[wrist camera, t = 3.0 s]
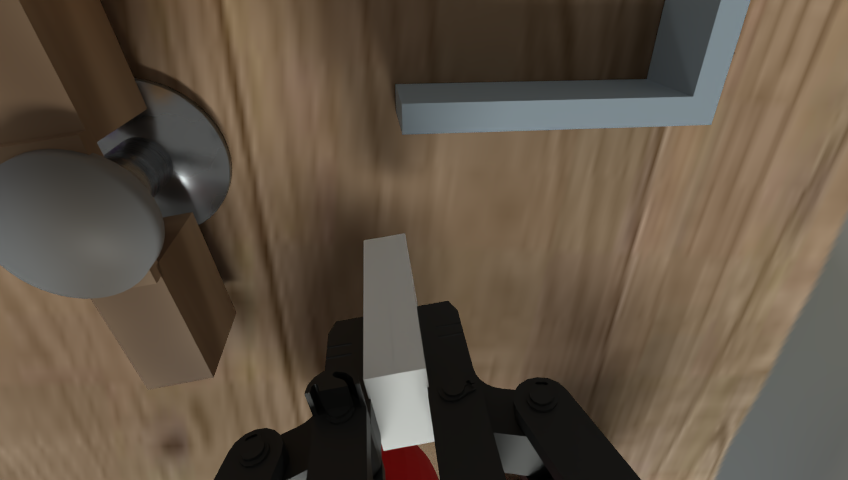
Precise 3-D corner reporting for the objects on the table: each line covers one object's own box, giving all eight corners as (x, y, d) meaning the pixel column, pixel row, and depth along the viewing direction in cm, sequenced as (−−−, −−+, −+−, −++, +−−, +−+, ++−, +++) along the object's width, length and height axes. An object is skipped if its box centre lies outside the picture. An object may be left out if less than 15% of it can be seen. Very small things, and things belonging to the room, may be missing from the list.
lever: (158, 326, 20) (108, 417, 16) (-128, -186, 12) (-391, -271, 8) (258, 308, 21) (234, 393, 16) (50, -211, 12) (-113, -306, 8)
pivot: (106, 240, 19) (46, 305, 15) (23, 92, 16) (-77, 129, 12) (252, 215, 19) (227, 273, 16) (197, 64, 16) (151, 92, 13)
